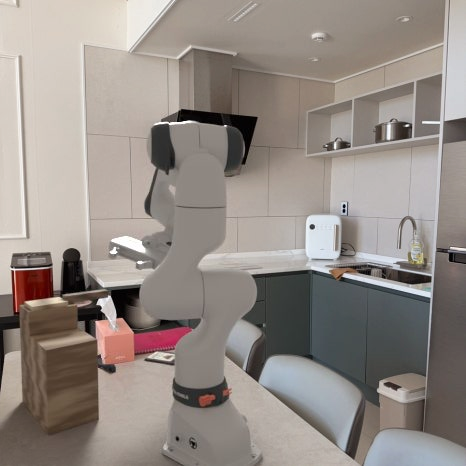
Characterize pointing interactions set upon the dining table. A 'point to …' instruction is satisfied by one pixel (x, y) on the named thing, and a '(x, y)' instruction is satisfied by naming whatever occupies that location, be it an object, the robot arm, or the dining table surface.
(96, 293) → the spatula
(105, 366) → the dark grey t-shaped piece
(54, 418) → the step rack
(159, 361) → the chocolate bar
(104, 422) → the dining table surface
